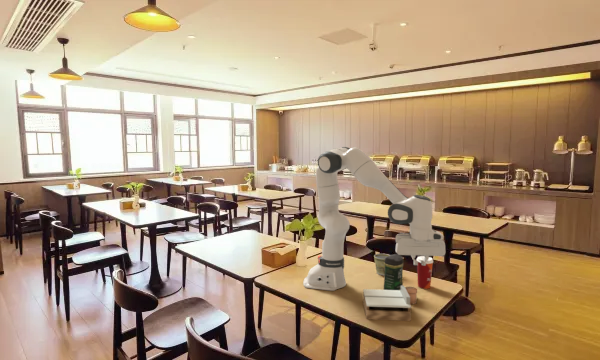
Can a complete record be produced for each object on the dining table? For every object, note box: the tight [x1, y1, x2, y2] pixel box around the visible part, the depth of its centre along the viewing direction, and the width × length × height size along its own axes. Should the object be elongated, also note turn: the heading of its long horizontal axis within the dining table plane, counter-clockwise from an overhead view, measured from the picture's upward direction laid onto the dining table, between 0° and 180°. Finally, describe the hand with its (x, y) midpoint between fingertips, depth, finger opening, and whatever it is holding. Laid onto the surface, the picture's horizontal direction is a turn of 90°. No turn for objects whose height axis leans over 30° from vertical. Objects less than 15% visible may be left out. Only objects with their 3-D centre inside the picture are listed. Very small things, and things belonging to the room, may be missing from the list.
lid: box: [362, 285, 412, 309], centre depth 148 cm, size 18×15×4 cm
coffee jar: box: [383, 253, 404, 290], centre depth 168 cm, size 10×8×19 cm
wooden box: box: [362, 291, 412, 322], centre depth 149 cm, size 18×16×5 cm
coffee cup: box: [416, 255, 434, 290], centre depth 174 cm, size 8×8×15 cm
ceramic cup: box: [373, 253, 391, 277], centre depth 192 cm, size 13×10×10 cm
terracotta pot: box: [404, 286, 418, 305], centre depth 158 cm, size 6×6×6 cm
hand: (419, 264), depth 146 cm, fingers closed
